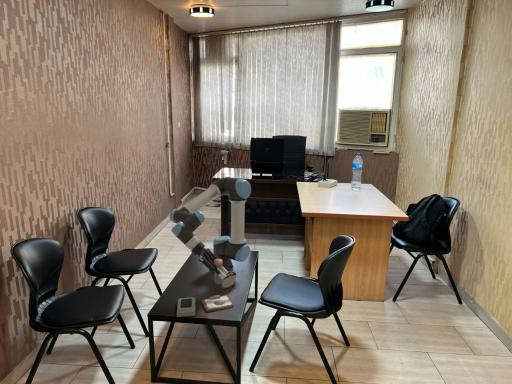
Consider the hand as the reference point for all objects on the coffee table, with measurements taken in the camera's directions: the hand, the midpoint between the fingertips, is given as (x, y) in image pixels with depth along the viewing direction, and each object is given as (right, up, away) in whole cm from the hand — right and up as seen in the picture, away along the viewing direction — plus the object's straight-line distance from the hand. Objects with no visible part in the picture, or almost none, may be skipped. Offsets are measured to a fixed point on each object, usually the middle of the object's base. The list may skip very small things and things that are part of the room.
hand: (225, 275), depth 198 cm
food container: (-2, -13, +23) cm, 27 cm away
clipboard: (-5, -17, +5) cm, 19 cm away
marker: (-4, -4, +1) cm, 6 cm away
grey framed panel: (-21, -19, +1) cm, 29 cm away
